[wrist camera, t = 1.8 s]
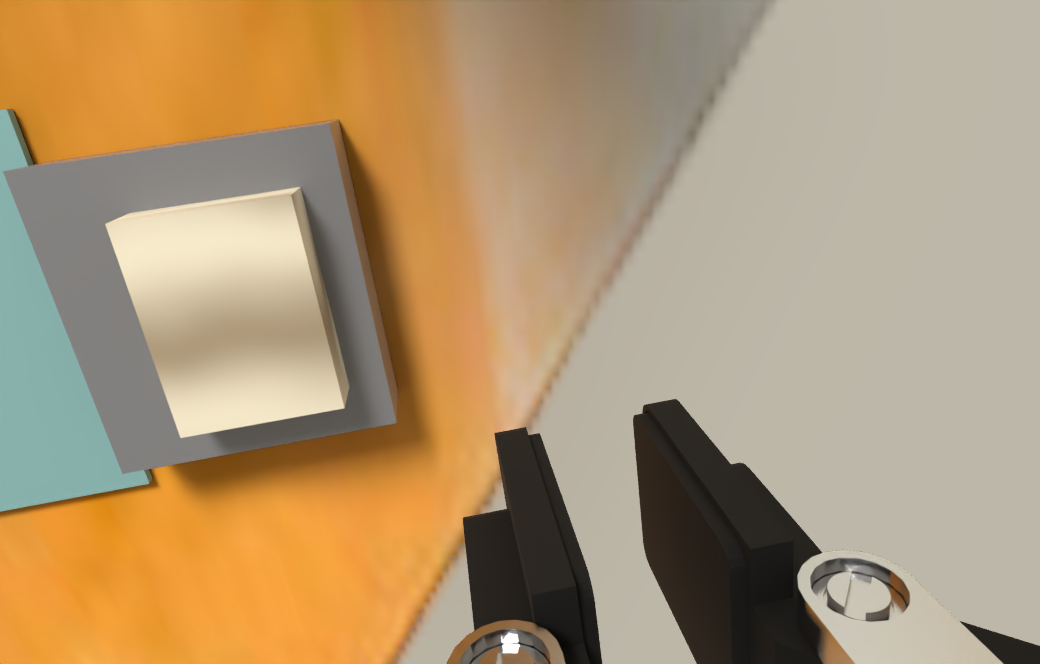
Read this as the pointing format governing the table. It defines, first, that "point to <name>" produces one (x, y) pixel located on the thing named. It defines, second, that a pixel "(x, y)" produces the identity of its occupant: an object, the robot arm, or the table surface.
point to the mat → (42, 375)
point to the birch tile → (233, 310)
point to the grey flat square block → (108, 305)
